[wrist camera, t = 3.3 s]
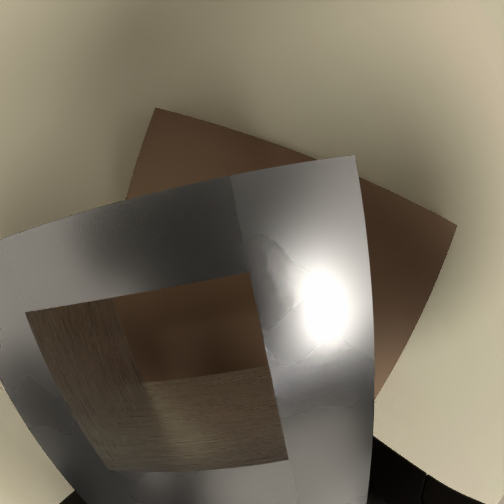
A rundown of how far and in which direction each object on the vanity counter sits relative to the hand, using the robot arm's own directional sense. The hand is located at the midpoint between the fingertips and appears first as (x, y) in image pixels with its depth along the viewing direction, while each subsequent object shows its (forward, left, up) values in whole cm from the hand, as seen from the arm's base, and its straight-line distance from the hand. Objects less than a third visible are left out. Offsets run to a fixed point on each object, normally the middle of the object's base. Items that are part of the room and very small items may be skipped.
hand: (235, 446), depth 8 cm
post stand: (0, 0, -3) cm, 3 cm away
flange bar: (0, 0, 0) cm, 0 cm away
